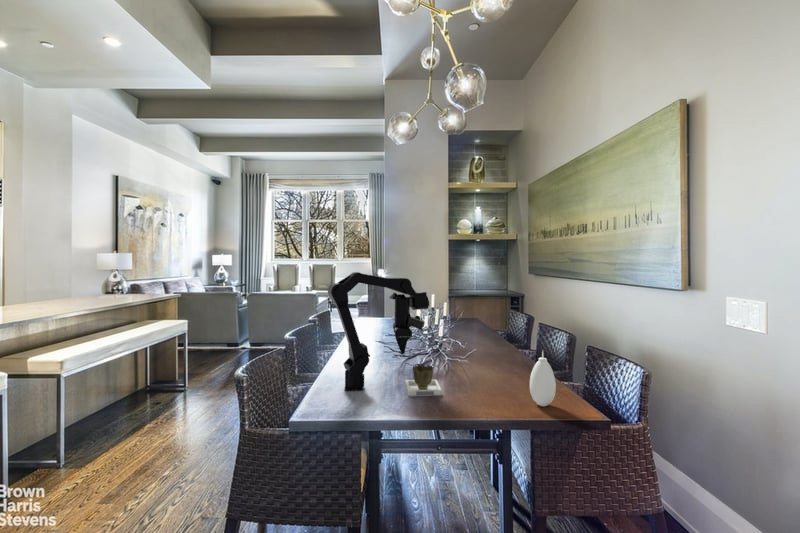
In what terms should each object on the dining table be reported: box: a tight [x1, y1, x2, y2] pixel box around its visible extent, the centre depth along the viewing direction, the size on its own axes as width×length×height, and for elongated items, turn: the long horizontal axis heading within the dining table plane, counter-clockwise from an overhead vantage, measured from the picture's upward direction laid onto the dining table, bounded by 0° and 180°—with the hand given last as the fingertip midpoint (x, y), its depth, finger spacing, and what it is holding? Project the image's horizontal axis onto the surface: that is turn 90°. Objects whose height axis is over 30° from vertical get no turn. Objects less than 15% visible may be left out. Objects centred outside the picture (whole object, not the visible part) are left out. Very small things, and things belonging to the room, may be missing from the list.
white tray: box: [405, 379, 443, 397], centre depth 137 cm, size 12×12×2 cm
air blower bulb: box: [529, 350, 557, 407], centre depth 124 cm, size 8×8×18 cm
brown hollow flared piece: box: [412, 364, 434, 390], centre depth 137 cm, size 8×7×8 cm
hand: (402, 350), depth 147 cm, fingers open, 9 cm apart
